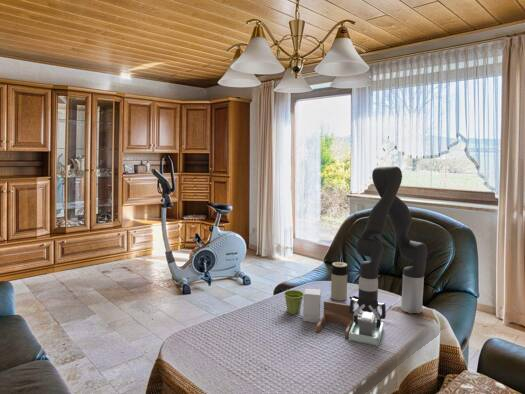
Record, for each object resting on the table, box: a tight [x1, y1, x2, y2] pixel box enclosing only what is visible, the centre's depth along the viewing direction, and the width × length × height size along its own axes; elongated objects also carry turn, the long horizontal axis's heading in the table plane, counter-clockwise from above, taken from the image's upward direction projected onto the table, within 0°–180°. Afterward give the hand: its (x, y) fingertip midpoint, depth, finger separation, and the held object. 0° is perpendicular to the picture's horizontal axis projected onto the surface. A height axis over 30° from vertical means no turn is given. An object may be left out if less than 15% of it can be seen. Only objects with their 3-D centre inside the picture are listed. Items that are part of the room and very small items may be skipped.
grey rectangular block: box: [359, 311, 376, 337], centre depth 157 cm, size 10×5×8 cm, turn 157°
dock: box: [315, 300, 355, 340], centre depth 163 cm, size 13×13×9 cm
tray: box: [348, 317, 384, 347], centre depth 158 cm, size 16×12×3 cm
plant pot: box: [283, 289, 304, 314], centre depth 180 cm, size 9×9×9 cm
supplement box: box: [302, 288, 322, 323], centre depth 173 cm, size 7×7×13 cm
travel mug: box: [330, 261, 349, 302], centre depth 196 cm, size 8×8×18 cm
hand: (366, 325), depth 158 cm, fingers open, 8 cm apart
